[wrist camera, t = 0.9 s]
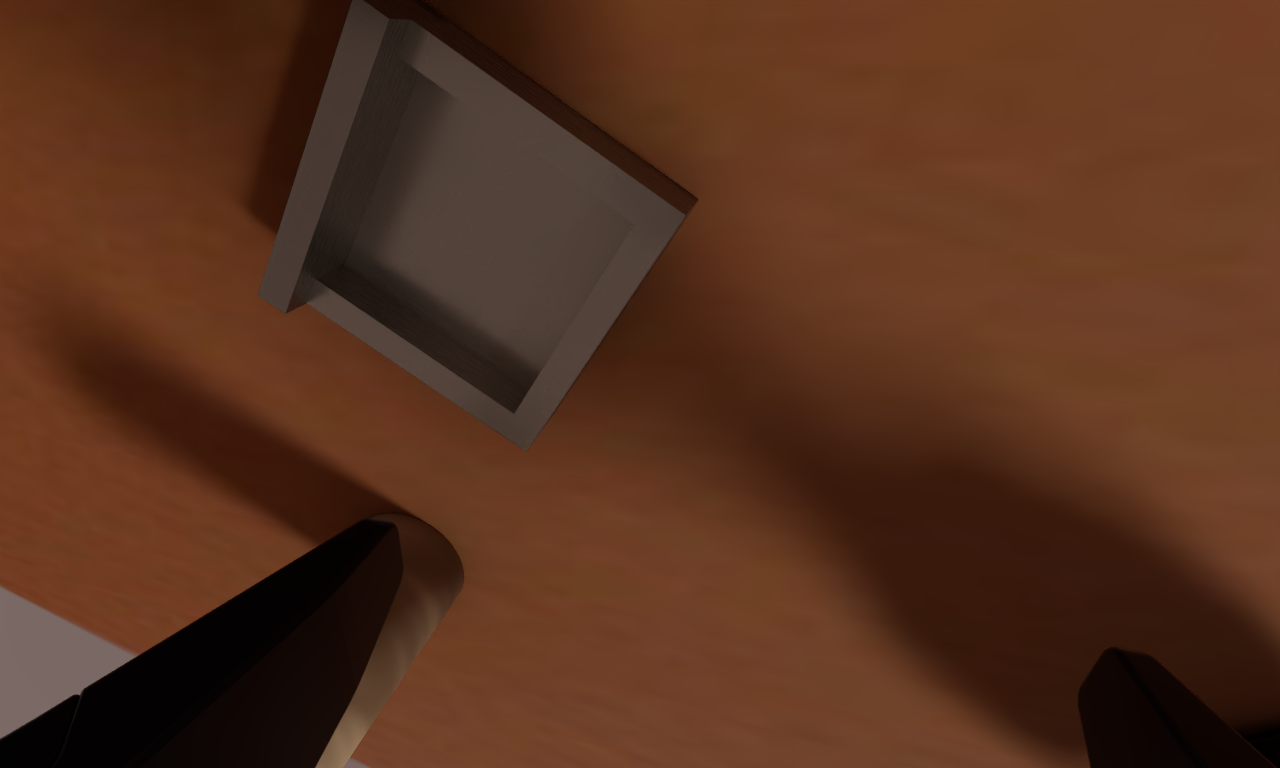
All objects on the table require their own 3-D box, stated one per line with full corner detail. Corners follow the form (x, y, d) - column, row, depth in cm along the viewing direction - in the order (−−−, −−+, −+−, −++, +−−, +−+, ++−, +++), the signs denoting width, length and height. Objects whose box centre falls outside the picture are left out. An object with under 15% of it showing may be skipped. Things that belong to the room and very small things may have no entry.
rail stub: (488, 583, 29) (239, 981, 17) (413, 621, 31) (145, 996, 19) (405, 493, 28) (74, 851, 16) (334, 540, 30) (-5, 884, 18)
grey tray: (698, 199, 20) (678, 224, 17) (547, 422, 24) (514, 468, 22) (418, -1, 19) (354, -7, 17) (319, 266, 24) (257, 295, 21)
